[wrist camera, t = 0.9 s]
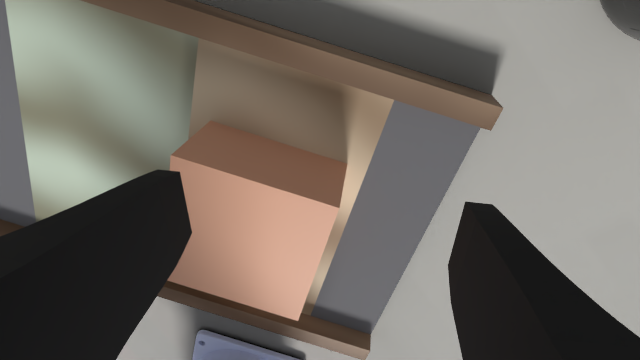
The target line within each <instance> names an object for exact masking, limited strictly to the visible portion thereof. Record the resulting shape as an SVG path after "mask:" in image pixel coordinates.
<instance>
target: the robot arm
mask: <svg viewBox="0 0 640 360" xmlns="http://www.w3.org/2000/svg"><path fill="white" fill-rule="evenodd" d="M191 234H192V229H191V224H190V219H189V215H188V210H187V205H186V200H185V195H184V190H183V185H182V180H181V175H180V172H178V171H169V170H159V169H158V170H155V171H152V172H149V173H147V174H144V175H142V176H139V177H137V178H135V179H132V180H130V181H128V182H126V183H123V184H121V185H119V186H117V187H115V188H113V189H110V190H108V191H106V192H104V193H102V194H99V195H97V196H95V197H93V198H91V199H89V200H86V201H84V202H82V203H80V204H78V205H75V206H73V207H71V208H68V209H66V210H64V211H61V212H59V213H57V214H54V215H52V216H50V217H47V218H45V219H43V220H40V221H38V222H36V223H33V224H31V225H29V226H26V227H24V228H21V229H18V230H16V231H13V232H11V233H8V234H5V235H3V236H0V360H116V359H117V357H118V355H119V354H120V352H121V350H122V349H123V347H124V345H125V344H126V342H127V340H128V339H129V337H130V336H131V334H132V333H133V331H134V330H135V328H136V327H137V325H138V324H139V322H140V321H141V319H142V318H143V316H144V315H145V313H146V312H147V310H148V309H149V307H150V306H151V304H152V303H153V301H154V300H155V298H156V297H157V295H158V294H159V292H160V291H161V289H162V288H163V286H164V285H165V283H166V281H167V280H168V278H169V277H170V275H171V274H172V272H173V271H174V269H175V267H176V266H177V264H178V262H179V260H180V258H181V256H182V254H183V252H184V250H185V248H186V245H187V243H188V241H189V239H190V237H191ZM448 270H449V285H450V296H451V305H452V310H453V315H454V320H455V325H456V329H457V334H458V339H459V343H460V348H461V353H462V357H463V360H640V337H638V336H637V335H636V334H634V333H633V332H632V331H630V330H629V329H628V328H626V327H625V326H624V325H623V324H621V323H620V322H619V321H617V320H616V319H615V318H614V317H613V316H611V315H610V314H609V313H608V312H606V311H605V310H604V309H603V308H602V307H600V306H599V305H598V304H597V303H596V302H595V301H593V300H592V299H591V298H590V297H589V296H588V295H587V294H585V293H584V292H583V291H582V290H581V289H580V288H578V287H577V286H576V285H575V284H574V283H573V282H572V281H571V280H569V279H568V278H567V277H566V276H565V275H564V274H563V273H562V272H561V271H560V270H559V269H557V268H556V267H555V266H554V265H553V264H552V263H551V262H550V261H549V260H548V259H547V258H546V257H545V256H544V255H543V254H542V253H541V252H540V251H539V250H538V249H537V248H536V247H535V246H534V245H533V244H532V243H531V242H530V241H529V240H528V239H527V238H526V237H525V236H524V235H523V234H522V233H521V232H520V231H519V230H518V229H517V228H516V227H515V226H514V225H513V224H512V223H511V222H510V221H509V220H508V219H507V218H506V217H505V216H504V215H503V214H502V213H501V212H500V211H499V210H498V209H497V208H496V207H494V206H493V205H492V204H482V203H473V202H465V205H464V209H463V212H462V216H461V220H460V223H459V227H458V231H457V234H456V238H455V242H454V245H453V249H452V253H451V256H450V260H449V264H448ZM192 360H300V359H297V358H294V357H290V356H287V355H284V354H281V353H278V352H274V351H271V350H268V349H265V348H261V347H258V346H255V345H252V344H249V343H245V342H242V341H239V340H236V339H232V338H229V337H226V336H223V335H220V334H216V333H213V332H210V331H207V330H200V331H199V332H198V333H197V335H196V340H195V346H194V352H193V358H192Z"/></svg>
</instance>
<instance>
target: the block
mask: <svg viewBox="0 0 640 360" xmlns="http://www.w3.org/2000/svg"><path fill="white" fill-rule="evenodd" d="M346 170H347V163H343V162H340V161H337V160H334V159H331V158H328V157H324V156H321V155H318V154H315V153H312V152H309V151H305V150H302V149H299V148H296V147H293V146H290V145H286V144H283V143H280V142H277V141H274V140H271V139H267V138H264V137H261V136H258V135H255V134H252V133H248V132H245V131H242V130H239V129H236V128H233V127H229V126H226V125H223V124H220V123H217V122H213V121H209V122H208V123H207V124H206V125H205V126H204V127H202V128H201V129H200V130H199V131H198V132H197V133H196V134H194V135H193V136H192V137H191V138H190V139H189V140H187V141H186V142H185V143H184V144H183V145H182V146H181V147H179V148H178V149H177V150H176V151H175V152H174V153H173V154H171V157H170V170H169V171H178V172H180V175H181V180H182V185H183V190H184V195H185V200H186V205H187V210H188V215H189V219H190V224H191V229H192V234H191V237H190V239H189V241H188V243H187V245H186V248H185V250H184V252H183V254H182V256H181V258H180V260H179V262H178V264H177V266H176V267H175V269H174V271H173V272H172V274H171V275H170V277H169V278H168V281H171V282H174V283H177V284H180V285H184V286H187V287H190V288H193V289H196V290H200V291H203V292H206V293H209V294H212V295H216V296H219V297H222V298H225V299H229V300H232V301H235V302H238V303H241V304H245V305H248V306H251V307H254V308H257V309H261V310H264V311H267V312H270V313H273V314H277V315H280V316H283V317H286V318H290V319H293V320H296V321H298V320H299V317H300V314H301V312H302V309H303V306H304V303H305V301H306V298H307V295H308V292H309V290H310V287H311V284H312V282H313V279H314V276H315V273H316V271H317V268H318V265H319V263H320V260H321V257H322V254H323V252H324V249H325V246H326V244H327V241H328V238H329V235H330V233H331V230H332V227H333V224H334V222H335V219H336V216H337V214H338V211H339V208H340V203H341V197H342V192H343V186H344V181H345V175H346Z"/></svg>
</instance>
